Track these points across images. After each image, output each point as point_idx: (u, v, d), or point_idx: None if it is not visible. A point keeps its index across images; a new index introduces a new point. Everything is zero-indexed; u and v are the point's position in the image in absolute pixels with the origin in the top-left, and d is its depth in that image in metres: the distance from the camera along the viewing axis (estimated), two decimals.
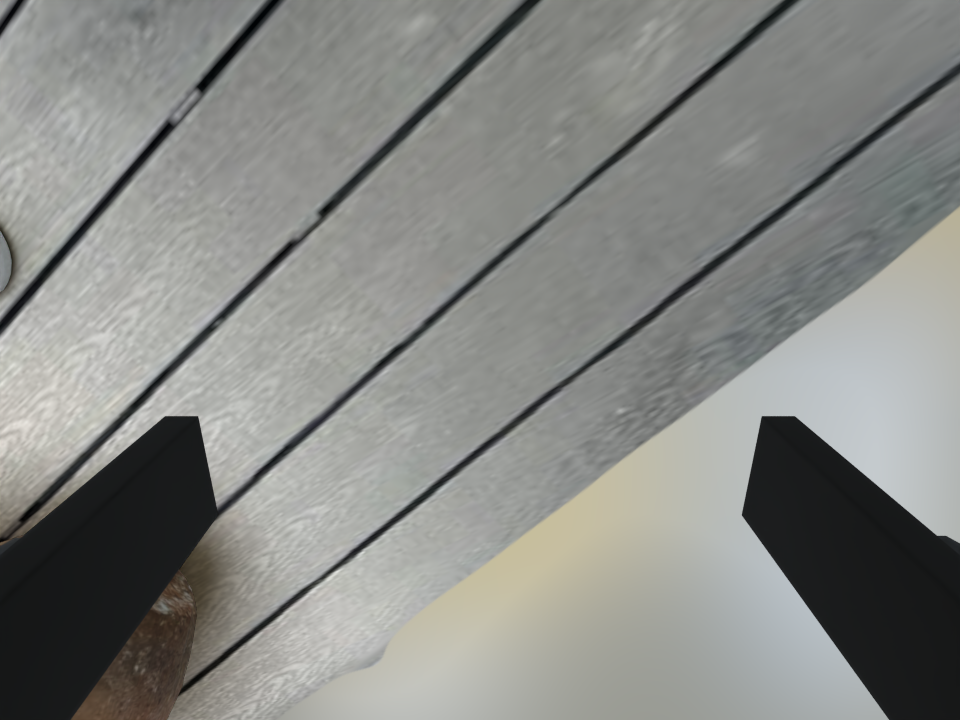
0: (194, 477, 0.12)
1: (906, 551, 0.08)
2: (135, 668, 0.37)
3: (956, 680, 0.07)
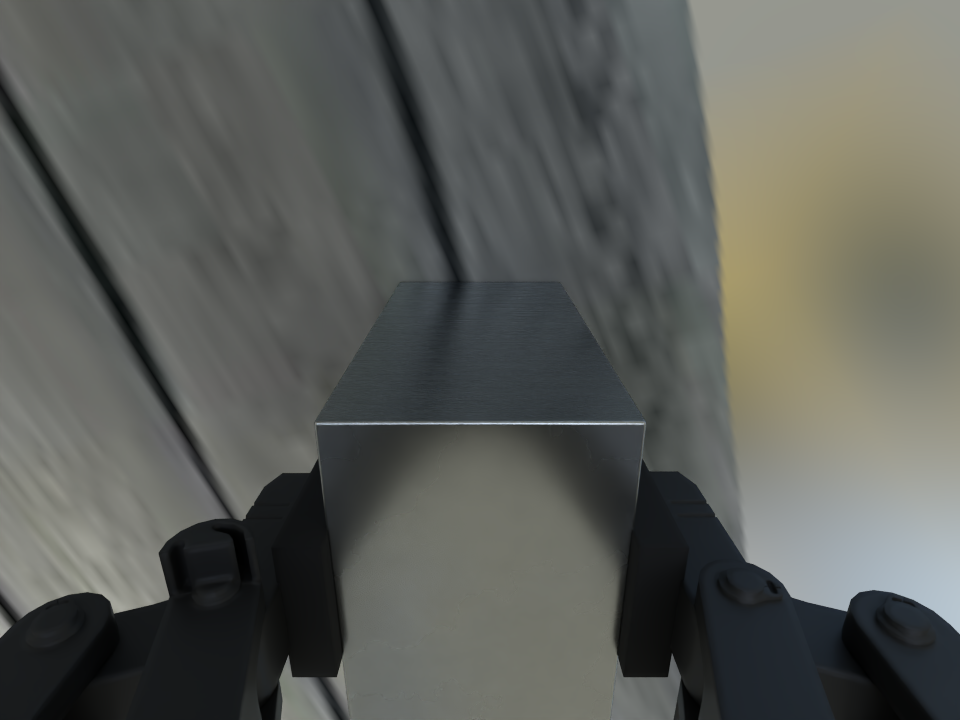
0: None
1: None
2: None
3: None
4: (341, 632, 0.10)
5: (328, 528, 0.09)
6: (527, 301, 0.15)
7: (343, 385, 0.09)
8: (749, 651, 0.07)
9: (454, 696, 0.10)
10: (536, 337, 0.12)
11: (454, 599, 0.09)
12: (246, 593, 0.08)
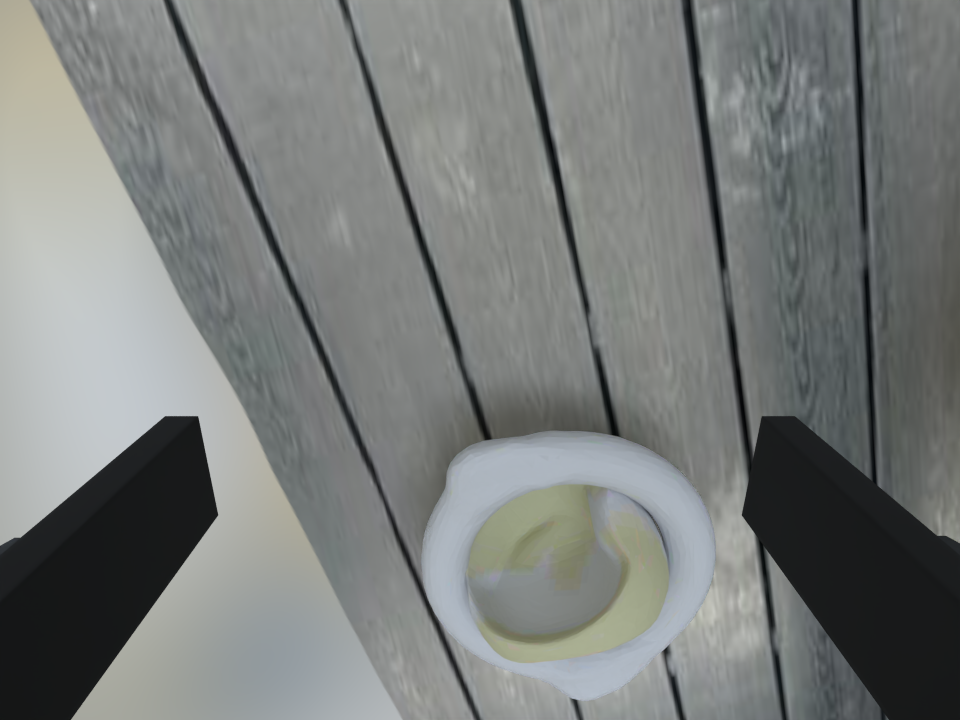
0: (194, 477, 0.12)
1: (906, 551, 0.08)
2: None
3: (956, 680, 0.07)
4: None
5: None
6: None
7: None
8: None
9: None
10: None
11: None
12: None
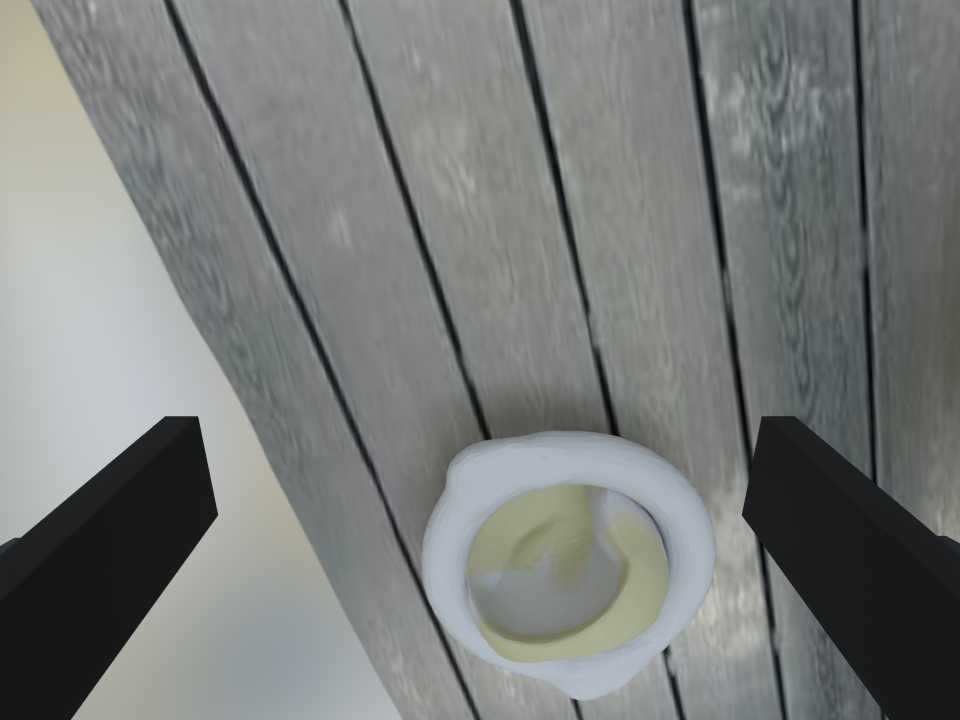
0: (194, 477, 0.12)
1: (906, 551, 0.08)
2: None
3: (956, 680, 0.07)
4: None
5: None
6: None
7: None
8: None
9: None
10: None
11: None
12: None
